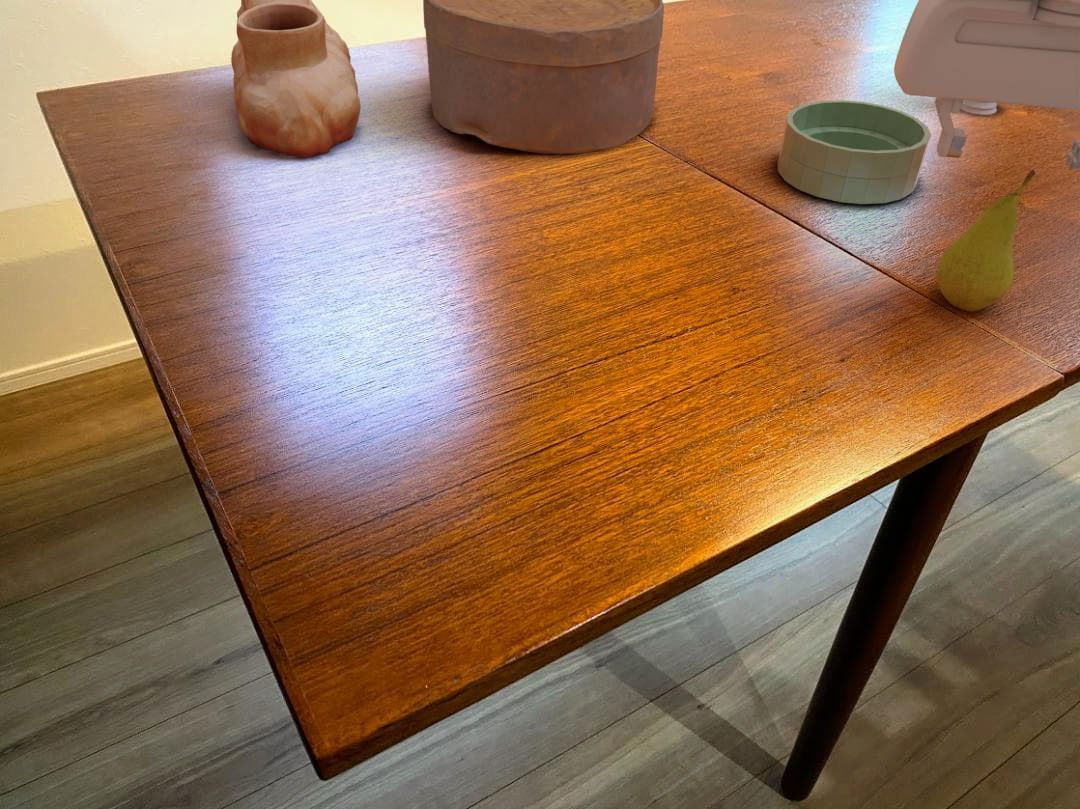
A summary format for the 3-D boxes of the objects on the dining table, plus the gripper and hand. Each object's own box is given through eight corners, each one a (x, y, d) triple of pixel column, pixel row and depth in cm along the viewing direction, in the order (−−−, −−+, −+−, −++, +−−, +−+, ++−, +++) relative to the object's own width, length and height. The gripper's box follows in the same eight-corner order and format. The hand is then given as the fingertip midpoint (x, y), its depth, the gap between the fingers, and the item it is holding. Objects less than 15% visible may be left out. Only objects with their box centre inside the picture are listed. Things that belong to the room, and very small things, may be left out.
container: (475, 175, 93) (472, 25, 84) (398, 96, 113) (390, -32, 104) (699, 142, 103) (718, 4, 94) (592, 75, 122) (599, -44, 113)
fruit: (915, 307, 75) (960, 173, 67) (943, 281, 78) (988, 151, 71) (984, 333, 72) (1038, 196, 64) (1009, 304, 75) (1063, 172, 68)
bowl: (904, 158, 99) (919, 105, 95) (922, 215, 88) (940, 158, 84) (775, 147, 101) (785, 95, 97) (777, 202, 90) (789, 145, 86)
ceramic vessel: (343, 78, 117) (327, -46, 107) (376, 156, 97) (360, 13, 88) (234, 88, 113) (209, -40, 104) (246, 170, 94) (216, 23, 85)
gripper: (1238, -38, 59) (1145, 158, 68) (922, -59, 62) (871, 132, 71) (1281, -15, 54) (1174, 193, 63) (936, -39, 57) (879, 164, 66)
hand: (1012, 161), depth 67 cm, fingers open, 8 cm apart
